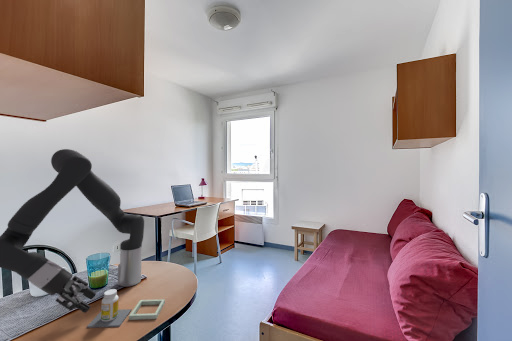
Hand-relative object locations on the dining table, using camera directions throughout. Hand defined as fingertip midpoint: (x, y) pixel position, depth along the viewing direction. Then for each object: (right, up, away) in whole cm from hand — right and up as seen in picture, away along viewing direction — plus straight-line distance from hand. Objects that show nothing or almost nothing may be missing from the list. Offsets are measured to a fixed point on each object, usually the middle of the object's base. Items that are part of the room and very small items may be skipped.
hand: (91, 303), depth 81 cm
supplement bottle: (+5, -7, +3) cm, 9 cm away
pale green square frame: (+17, -8, +8) cm, 20 cm away
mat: (+5, -7, +3) cm, 9 cm away
